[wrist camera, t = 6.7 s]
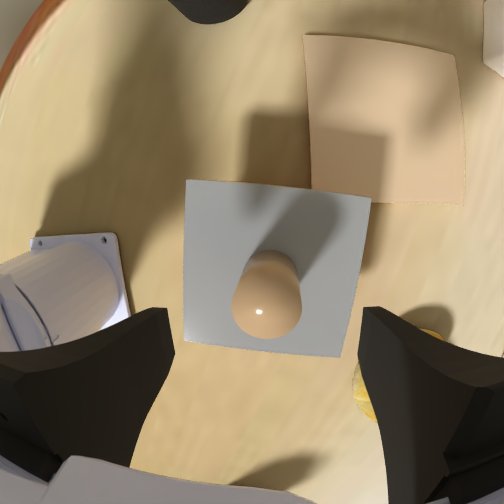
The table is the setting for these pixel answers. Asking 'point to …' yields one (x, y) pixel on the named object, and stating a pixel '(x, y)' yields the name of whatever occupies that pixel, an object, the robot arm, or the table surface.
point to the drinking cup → (209, 9)
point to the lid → (271, 266)
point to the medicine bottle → (494, 35)
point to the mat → (384, 120)
